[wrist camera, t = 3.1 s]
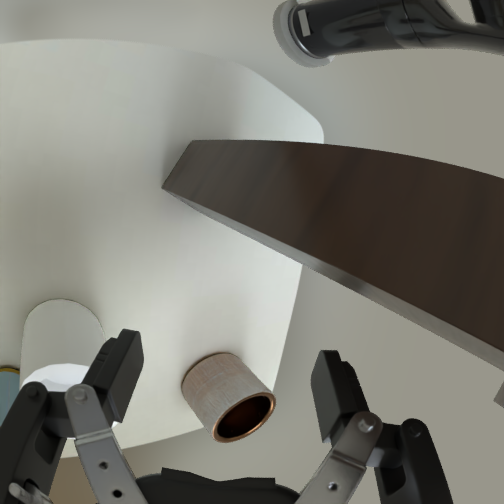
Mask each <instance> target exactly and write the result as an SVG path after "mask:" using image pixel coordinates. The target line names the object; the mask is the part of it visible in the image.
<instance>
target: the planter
mask: <svg viewBox="0 0 504 504" xmlns="http://www.w3.org/2000/svg"><path fill="white" fill-rule="evenodd" d="M182 393H183V396H184V398H185V400H186V401H187V403H188V404H189V406H190V407H191V408H192V410H193V411H194V413H195V414H196V416H197V417H198V418H199V420H200V421H201V423H202V424H203V425H204V427H205V428H206V430H207V431H208V432H209V433H210V435H211V436H212V438H213V439H214V440H215V441H217V442H220V443H229V442H233V441H237V440H240V439H242V438H245V437H246V436H248V435H250V434H251V433H253V432H255V430H257V429H259V428H260V427H261V426H262V425H263V424H264V423H265V422H266V421H267V420H268V419H269V417H270V416H271V414H272V413H273V411H274V409H275V406H276V397H275V395H274V394H273V393H272V392H271V391H270V390H269V389H268V388H267V387H266V386H265V385H264V384H263V383H262V382H261V381H260V380H259V379H258V378H257V377H256V376H255V374H254V373H253V372H252V371H251V370H250V369H249V368H248V367H247V366H246V365H245V364H244V363H243V362H242V361H241V360H240V359H239V358H238V357H236V356H235V355H232V354H217V355H214V356H211V357H208V358H206V359H204V360H202V361H201V362H199V363H198V364H197V365H196V366H194V367H193V368H192V369H191V370H190V372H189V373H188V374H187V376H186V377H185V379H184V382H183V385H182Z"/></svg>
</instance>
